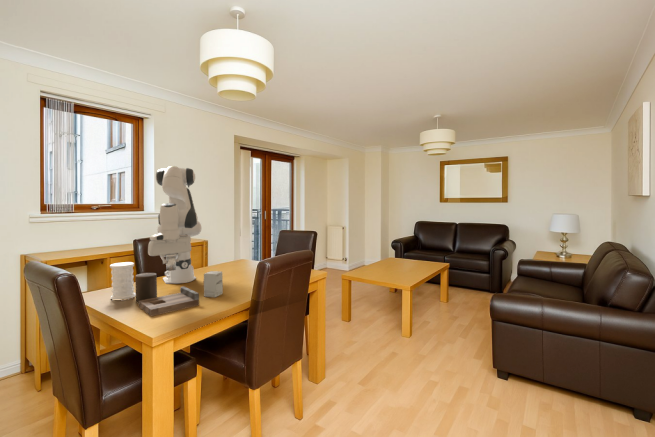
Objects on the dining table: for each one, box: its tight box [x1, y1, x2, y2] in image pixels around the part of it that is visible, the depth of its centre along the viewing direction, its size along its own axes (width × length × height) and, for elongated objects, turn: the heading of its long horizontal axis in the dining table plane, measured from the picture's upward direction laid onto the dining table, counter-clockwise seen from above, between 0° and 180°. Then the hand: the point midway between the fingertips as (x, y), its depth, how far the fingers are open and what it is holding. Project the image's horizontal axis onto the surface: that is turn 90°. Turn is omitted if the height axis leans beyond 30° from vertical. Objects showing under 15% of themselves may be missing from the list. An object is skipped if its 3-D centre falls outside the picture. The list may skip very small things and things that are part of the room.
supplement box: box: [203, 270, 224, 298], centre depth 182 cm, size 7×7×13 cm
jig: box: [138, 286, 200, 317], centre depth 163 cm, size 18×22×6 cm
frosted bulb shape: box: [164, 253, 177, 271], centre depth 168 cm, size 6×6×8 cm
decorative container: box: [109, 261, 136, 300], centre depth 177 cm, size 12×12×18 cm
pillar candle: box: [134, 271, 158, 304], centre depth 172 cm, size 10×10×15 cm
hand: (170, 262), depth 168 cm, fingers closed on frosted bulb shape, 4 cm apart
